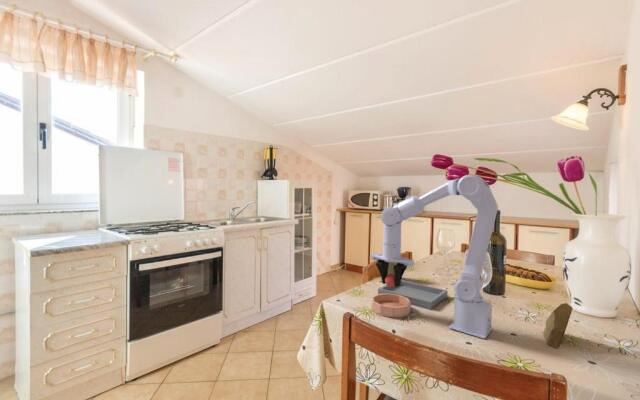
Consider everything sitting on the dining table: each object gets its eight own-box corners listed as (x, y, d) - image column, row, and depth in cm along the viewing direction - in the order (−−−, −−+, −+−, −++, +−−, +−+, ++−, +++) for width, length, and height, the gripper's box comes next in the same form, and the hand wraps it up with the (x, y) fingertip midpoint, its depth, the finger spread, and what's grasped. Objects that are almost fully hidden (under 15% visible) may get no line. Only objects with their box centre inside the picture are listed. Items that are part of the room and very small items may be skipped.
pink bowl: (416, 308, 102) (416, 299, 102) (398, 321, 92) (398, 310, 92) (383, 299, 110) (383, 290, 110) (364, 310, 100) (364, 300, 100)
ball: (399, 286, 101) (399, 274, 101) (393, 289, 98) (393, 277, 98) (388, 283, 104) (388, 272, 103) (382, 286, 101) (382, 274, 100)
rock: (569, 346, 74) (592, 333, 78) (545, 311, 78) (568, 301, 82) (533, 353, 83) (556, 341, 87) (514, 322, 87) (536, 311, 91)
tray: (447, 297, 113) (447, 290, 113) (430, 309, 101) (431, 302, 101) (397, 285, 127) (397, 279, 126) (377, 295, 115) (378, 288, 114)
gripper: (418, 244, 98) (417, 286, 99) (378, 239, 108) (377, 277, 109) (408, 248, 93) (407, 292, 94) (367, 242, 103) (367, 282, 103)
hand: (391, 284), depth 101 cm, fingers closed on ball, 4 cm apart
